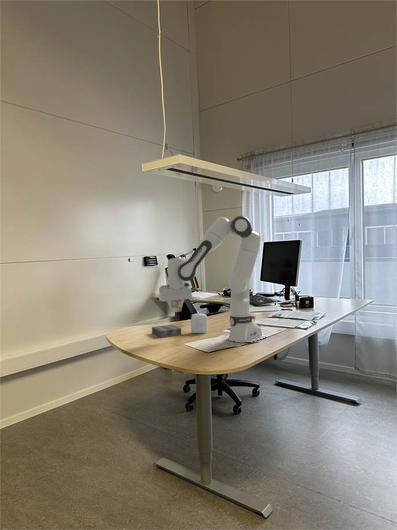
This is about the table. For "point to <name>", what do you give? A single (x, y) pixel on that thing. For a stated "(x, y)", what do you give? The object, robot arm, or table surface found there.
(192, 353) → the table surface
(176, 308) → the ash block
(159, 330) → the riser block
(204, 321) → the photo printer
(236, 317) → the robot arm
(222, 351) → the table surface
